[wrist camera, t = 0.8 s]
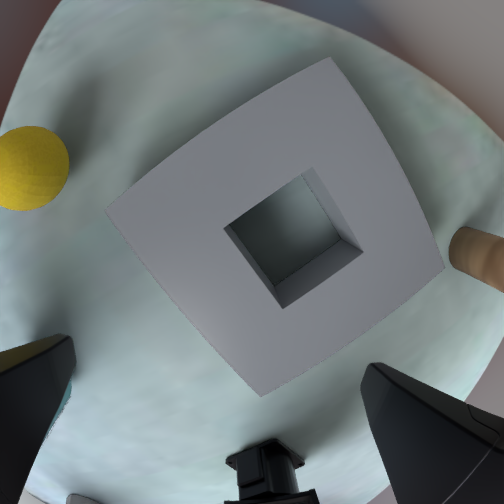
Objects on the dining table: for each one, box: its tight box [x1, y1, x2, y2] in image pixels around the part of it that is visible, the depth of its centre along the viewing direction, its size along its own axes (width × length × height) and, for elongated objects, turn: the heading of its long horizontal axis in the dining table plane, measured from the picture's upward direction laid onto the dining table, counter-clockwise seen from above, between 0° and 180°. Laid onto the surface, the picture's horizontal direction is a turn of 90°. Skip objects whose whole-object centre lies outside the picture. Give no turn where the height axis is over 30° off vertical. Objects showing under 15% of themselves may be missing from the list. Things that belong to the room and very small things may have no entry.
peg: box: [449, 227, 504, 293], centre depth 17 cm, size 4×4×10 cm
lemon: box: [0, 126, 69, 211], centre depth 15 cm, size 6×6×8 cm
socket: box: [104, 56, 445, 397], centre depth 19 cm, size 16×16×4 cm
